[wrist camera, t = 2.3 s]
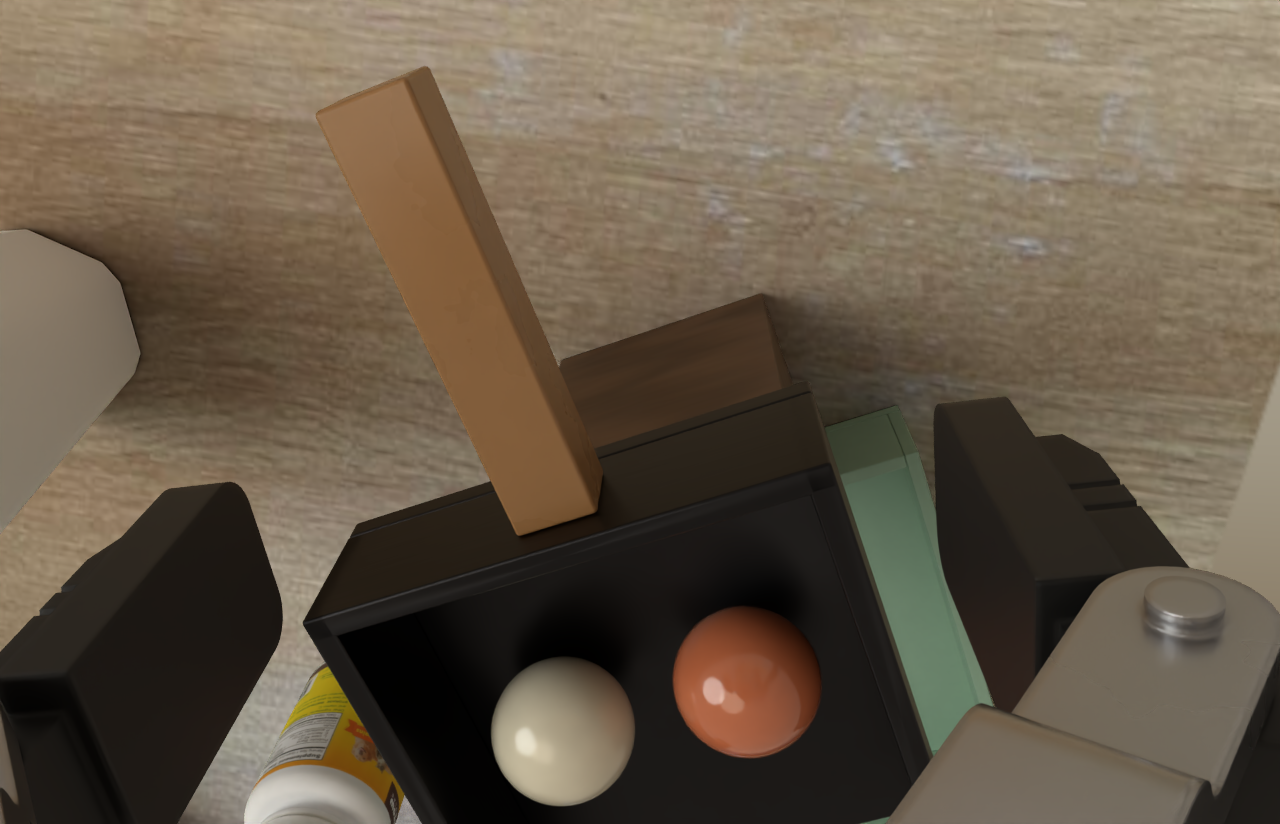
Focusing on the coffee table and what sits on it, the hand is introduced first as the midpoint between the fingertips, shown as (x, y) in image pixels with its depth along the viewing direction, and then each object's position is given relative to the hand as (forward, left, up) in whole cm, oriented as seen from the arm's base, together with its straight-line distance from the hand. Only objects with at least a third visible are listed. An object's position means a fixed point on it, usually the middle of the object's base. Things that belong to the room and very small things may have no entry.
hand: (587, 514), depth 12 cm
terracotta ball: (0, +8, -7) cm, 10 cm away
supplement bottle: (+20, +19, -27) cm, 39 cm away
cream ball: (+4, +8, -7) cm, 11 cm away
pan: (+2, +4, -9) cm, 10 cm away
